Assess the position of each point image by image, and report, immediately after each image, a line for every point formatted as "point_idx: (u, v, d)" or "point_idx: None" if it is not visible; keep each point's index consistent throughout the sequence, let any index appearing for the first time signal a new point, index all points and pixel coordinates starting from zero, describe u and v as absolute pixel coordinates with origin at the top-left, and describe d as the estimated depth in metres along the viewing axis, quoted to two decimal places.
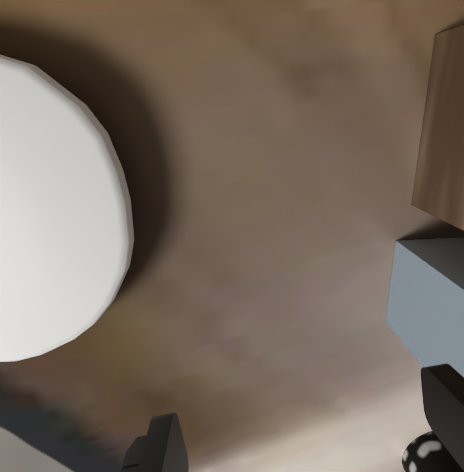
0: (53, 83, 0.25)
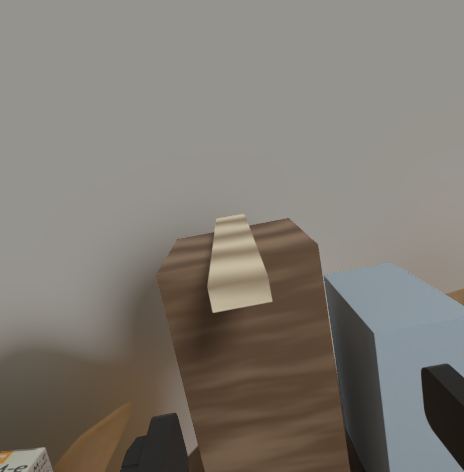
0: None
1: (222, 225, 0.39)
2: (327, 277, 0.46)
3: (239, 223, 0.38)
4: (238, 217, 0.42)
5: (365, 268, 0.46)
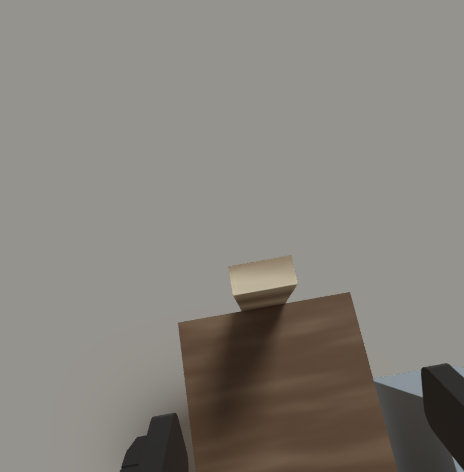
0: None
1: None
2: None
3: None
4: None
5: (417, 371, 0.40)
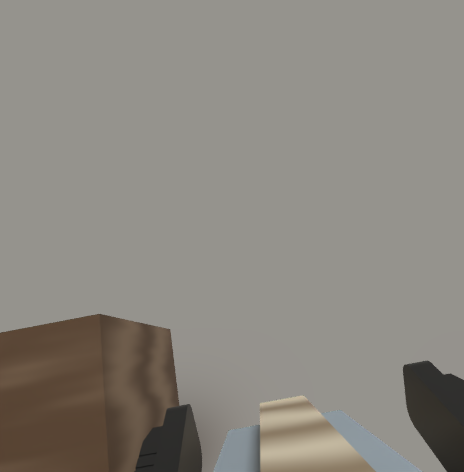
0: None
1: (272, 412, 0.23)
2: (230, 432, 0.27)
3: (301, 409, 0.22)
4: (295, 400, 0.26)
5: None
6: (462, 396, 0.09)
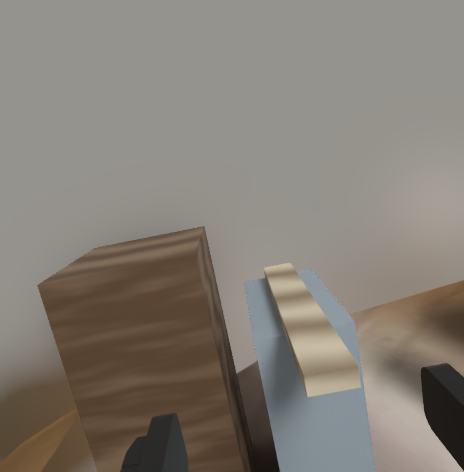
0: None
1: (275, 279, 0.41)
2: (246, 284, 0.46)
3: (292, 278, 0.40)
4: (286, 268, 0.44)
5: None
6: None
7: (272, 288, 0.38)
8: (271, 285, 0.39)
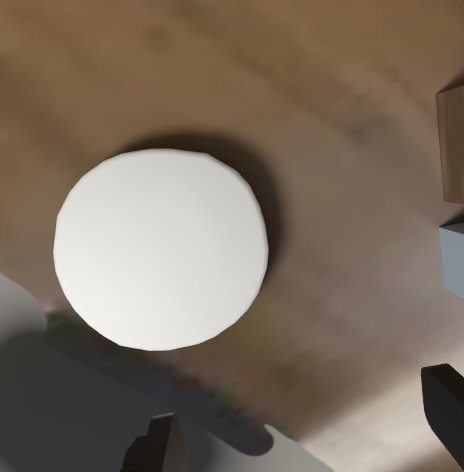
0: (219, 161, 0.43)
1: None
2: None
3: None
4: None
5: None
6: None
7: None
8: None
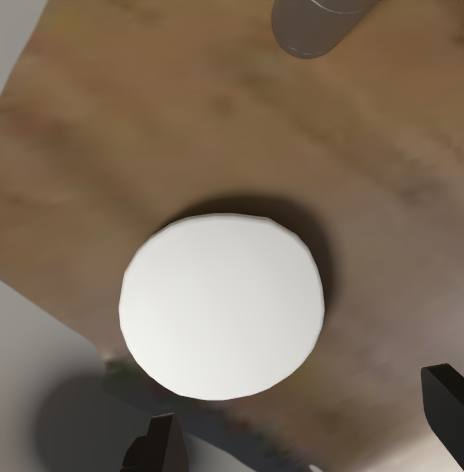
0: (281, 226, 0.45)
1: None
2: None
3: None
4: None
5: None
6: None
7: None
8: None
